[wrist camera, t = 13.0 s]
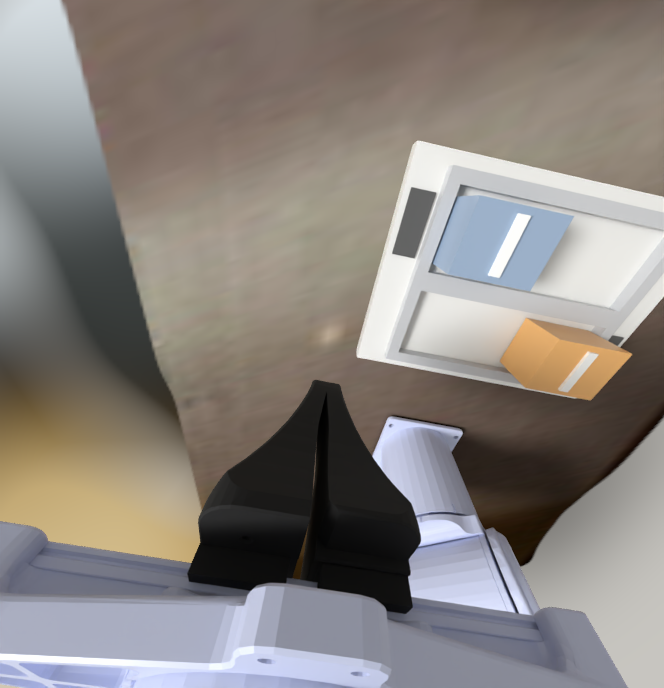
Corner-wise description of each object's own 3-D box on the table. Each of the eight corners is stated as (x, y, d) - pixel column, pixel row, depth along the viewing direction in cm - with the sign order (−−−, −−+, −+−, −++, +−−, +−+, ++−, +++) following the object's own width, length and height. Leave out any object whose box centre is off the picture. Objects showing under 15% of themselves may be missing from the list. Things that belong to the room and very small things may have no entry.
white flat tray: (565, 390, 24) (582, 404, 22) (356, 350, 23) (357, 362, 21) (711, 212, 17) (753, 214, 15) (412, 144, 16) (421, 137, 14)
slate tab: (499, 276, 18) (532, 292, 15) (430, 261, 18) (449, 275, 15) (531, 213, 16) (577, 216, 13) (454, 196, 16) (482, 195, 13)
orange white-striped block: (556, 372, 21) (593, 402, 18) (499, 361, 21) (526, 389, 18) (588, 330, 20) (635, 355, 16) (526, 317, 19) (561, 340, 16)
